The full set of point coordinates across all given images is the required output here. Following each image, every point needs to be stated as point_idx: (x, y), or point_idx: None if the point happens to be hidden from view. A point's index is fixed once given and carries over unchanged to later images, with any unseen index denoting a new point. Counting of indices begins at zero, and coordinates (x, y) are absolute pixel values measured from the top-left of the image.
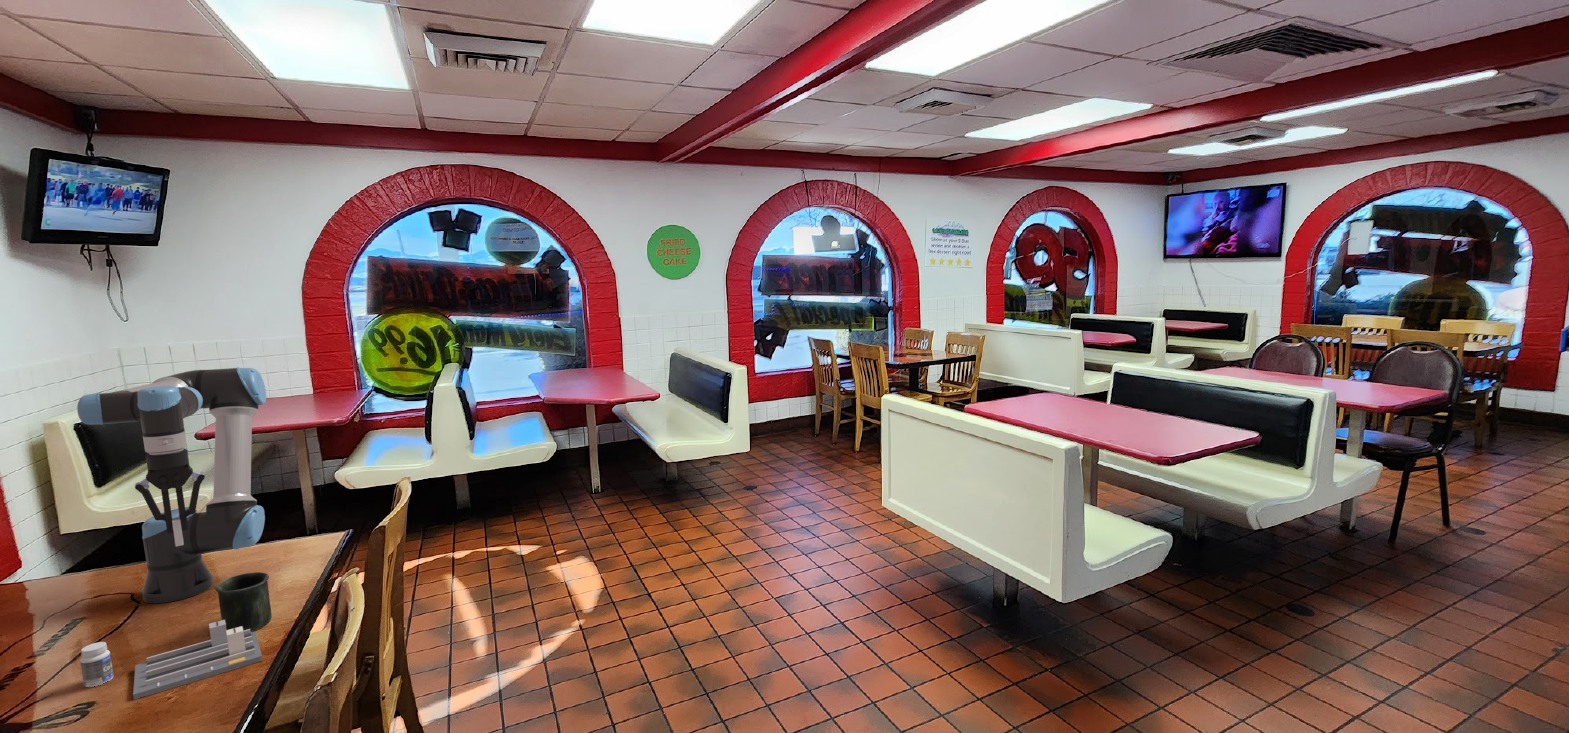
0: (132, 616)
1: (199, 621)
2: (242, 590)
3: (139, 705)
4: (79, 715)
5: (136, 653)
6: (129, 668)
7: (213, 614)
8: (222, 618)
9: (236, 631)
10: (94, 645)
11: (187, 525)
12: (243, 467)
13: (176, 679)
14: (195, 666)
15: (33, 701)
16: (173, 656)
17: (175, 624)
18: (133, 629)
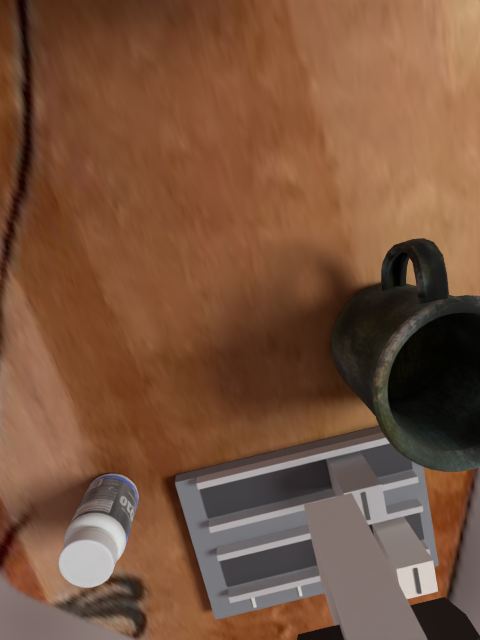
0: (36, 68)
1: (254, 236)
2: (465, 470)
3: (232, 633)
4: (132, 623)
5: (146, 378)
6: (157, 458)
7: (283, 200)
8: (350, 385)
9: (422, 587)
10: (85, 558)
11: (473, 629)
12: None
13: (283, 593)
14: (317, 580)
15: (8, 525)
16: (251, 480)
17: (192, 222)
18: (80, 195)
